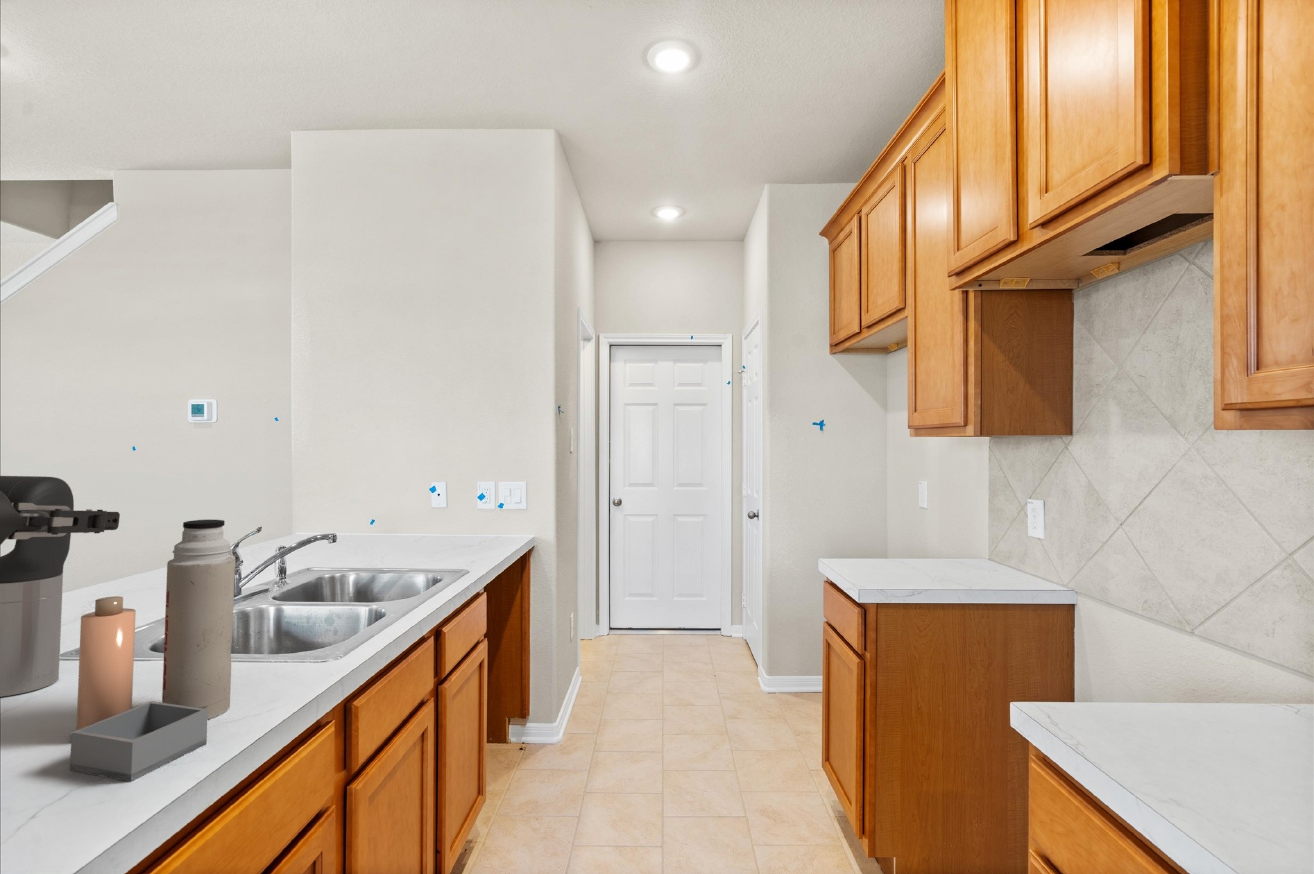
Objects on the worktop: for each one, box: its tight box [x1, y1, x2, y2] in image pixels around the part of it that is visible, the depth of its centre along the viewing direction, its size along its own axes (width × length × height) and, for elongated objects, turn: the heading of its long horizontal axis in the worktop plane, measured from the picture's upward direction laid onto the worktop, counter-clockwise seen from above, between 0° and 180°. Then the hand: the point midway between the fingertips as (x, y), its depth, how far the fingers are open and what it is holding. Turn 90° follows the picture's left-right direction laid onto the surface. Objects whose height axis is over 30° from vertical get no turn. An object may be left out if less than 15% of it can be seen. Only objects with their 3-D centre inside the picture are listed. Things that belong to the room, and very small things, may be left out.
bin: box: [69, 700, 208, 782], centre depth 76 cm, size 9×9×4 cm
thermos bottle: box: [161, 519, 236, 721], centre depth 89 cm, size 8×8×28 cm
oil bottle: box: [75, 595, 136, 731], centre depth 82 cm, size 6×6×18 cm
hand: (80, 520), depth 75 cm, fingers open, 8 cm apart
